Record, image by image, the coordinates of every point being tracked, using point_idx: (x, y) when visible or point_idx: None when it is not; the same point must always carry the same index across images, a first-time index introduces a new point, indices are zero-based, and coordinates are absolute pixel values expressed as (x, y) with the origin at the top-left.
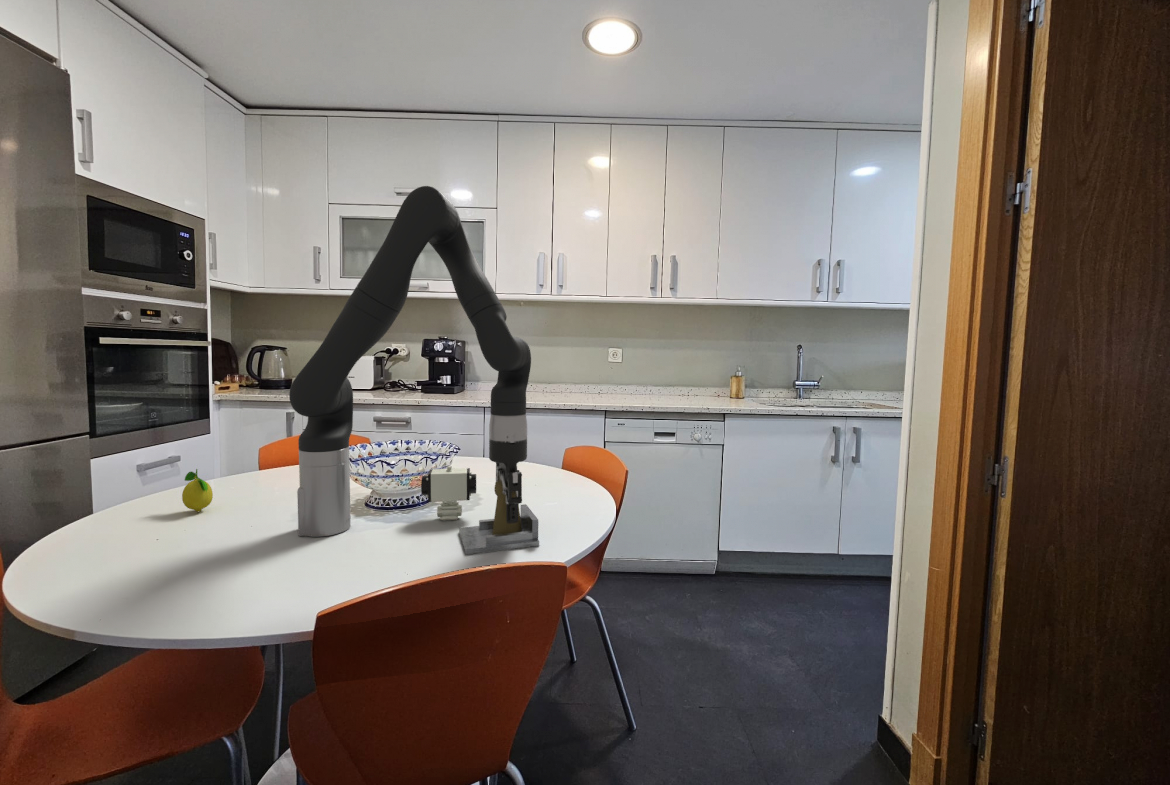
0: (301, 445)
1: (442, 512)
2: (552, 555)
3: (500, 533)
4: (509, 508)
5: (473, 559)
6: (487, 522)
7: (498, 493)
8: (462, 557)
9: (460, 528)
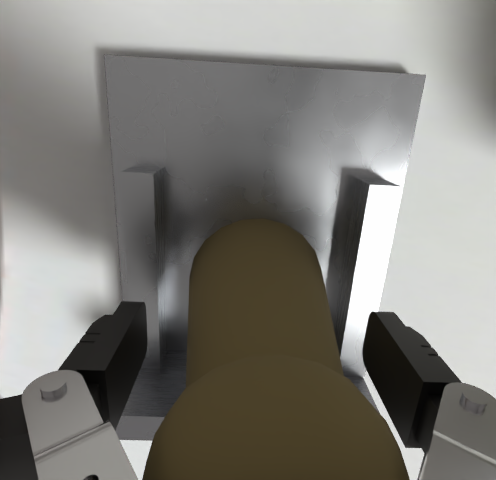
0: None
1: None
2: (39, 370)
3: (204, 250)
4: (71, 366)
5: (54, 84)
6: (360, 222)
7: (207, 382)
8: (88, 36)
9: (412, 81)
